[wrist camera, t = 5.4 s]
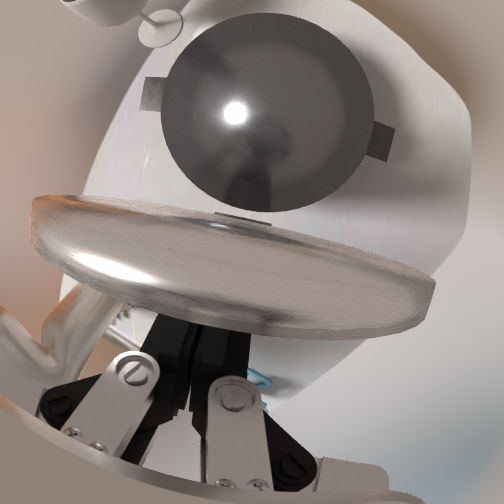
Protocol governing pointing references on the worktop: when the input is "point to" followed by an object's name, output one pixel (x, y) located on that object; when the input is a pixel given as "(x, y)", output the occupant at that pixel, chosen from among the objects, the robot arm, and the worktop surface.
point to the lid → (227, 269)
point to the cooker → (267, 112)
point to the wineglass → (123, 10)
